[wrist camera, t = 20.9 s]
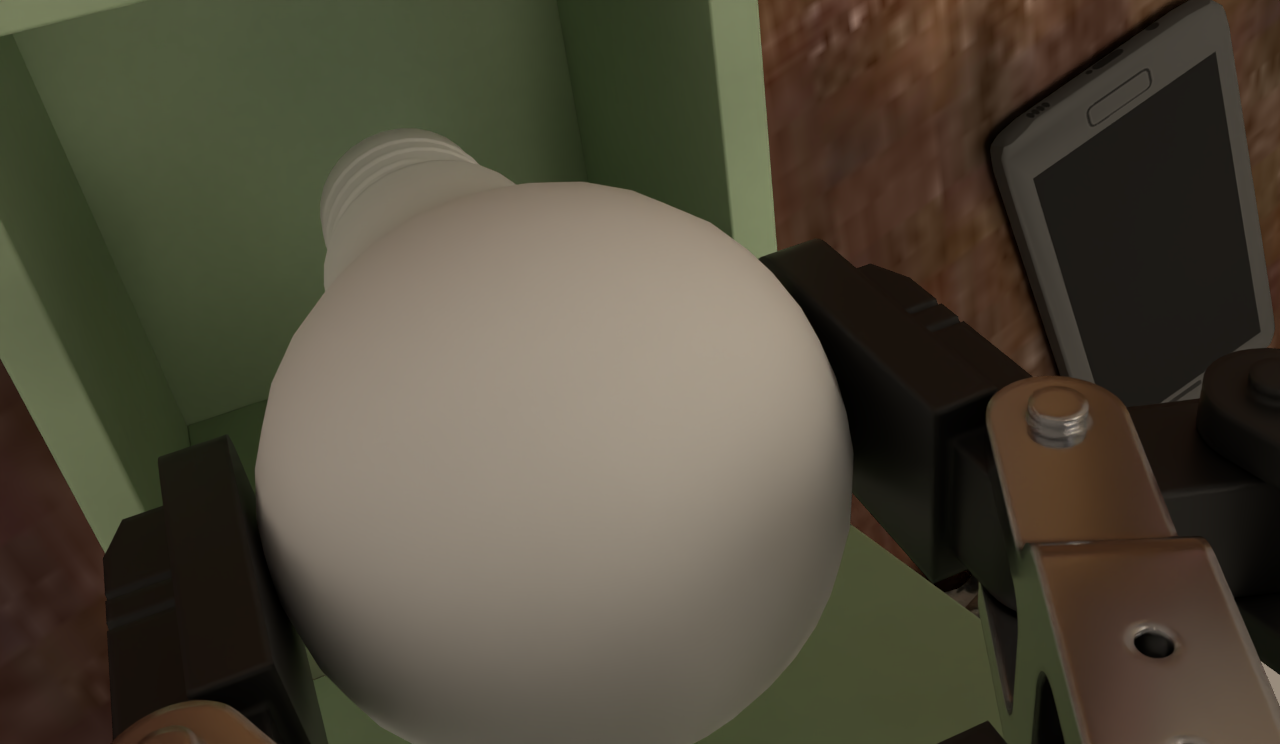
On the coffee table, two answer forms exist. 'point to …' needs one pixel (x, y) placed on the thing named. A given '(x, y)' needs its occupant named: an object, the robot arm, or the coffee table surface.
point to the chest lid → (835, 669)
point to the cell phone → (1142, 212)
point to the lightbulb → (546, 459)
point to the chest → (303, 180)
